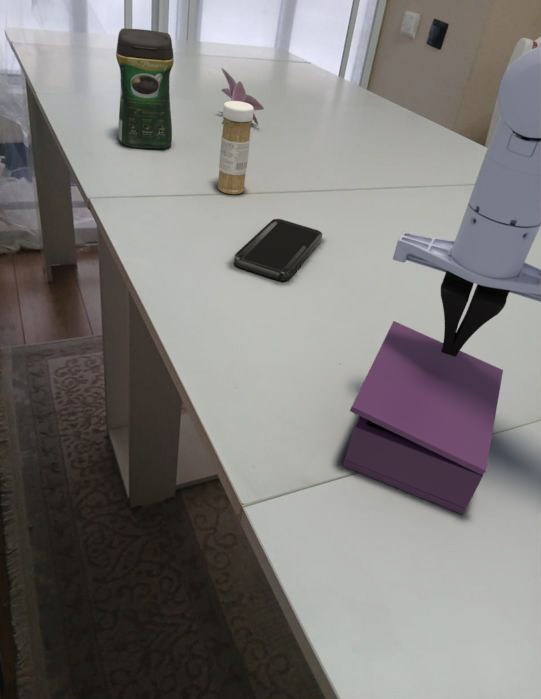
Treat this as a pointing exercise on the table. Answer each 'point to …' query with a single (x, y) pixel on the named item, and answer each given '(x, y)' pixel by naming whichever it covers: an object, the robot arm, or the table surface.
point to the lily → (240, 94)
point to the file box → (410, 466)
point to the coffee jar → (145, 88)
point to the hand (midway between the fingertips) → (450, 349)
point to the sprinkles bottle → (234, 146)
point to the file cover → (432, 397)
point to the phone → (278, 249)
